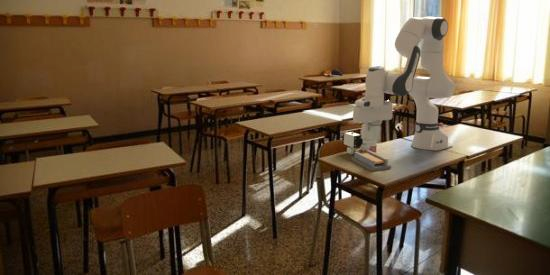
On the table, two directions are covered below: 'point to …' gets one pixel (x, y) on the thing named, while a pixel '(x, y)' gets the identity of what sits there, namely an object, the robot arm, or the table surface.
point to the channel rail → (370, 161)
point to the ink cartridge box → (367, 141)
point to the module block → (373, 130)
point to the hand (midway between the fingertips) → (372, 129)
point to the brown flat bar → (373, 158)
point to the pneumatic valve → (352, 141)
